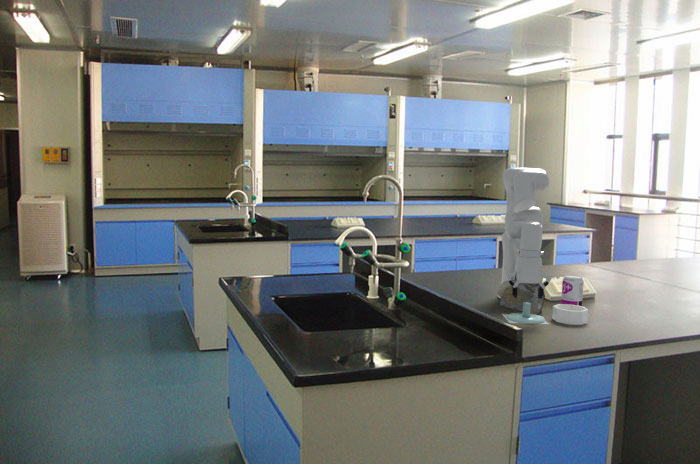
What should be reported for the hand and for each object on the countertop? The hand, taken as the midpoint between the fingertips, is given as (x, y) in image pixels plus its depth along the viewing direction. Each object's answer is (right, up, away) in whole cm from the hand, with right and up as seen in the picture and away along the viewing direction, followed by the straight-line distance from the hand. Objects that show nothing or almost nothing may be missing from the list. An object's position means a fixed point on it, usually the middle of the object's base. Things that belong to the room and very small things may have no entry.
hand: (527, 297), depth 226 cm
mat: (-1, -9, +2) cm, 9 cm away
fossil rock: (+3, -7, +20) cm, 22 cm away
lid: (0, -9, +2) cm, 9 cm away
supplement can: (+23, -8, +17) cm, 30 cm away
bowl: (+17, -9, +1) cm, 19 cm away
